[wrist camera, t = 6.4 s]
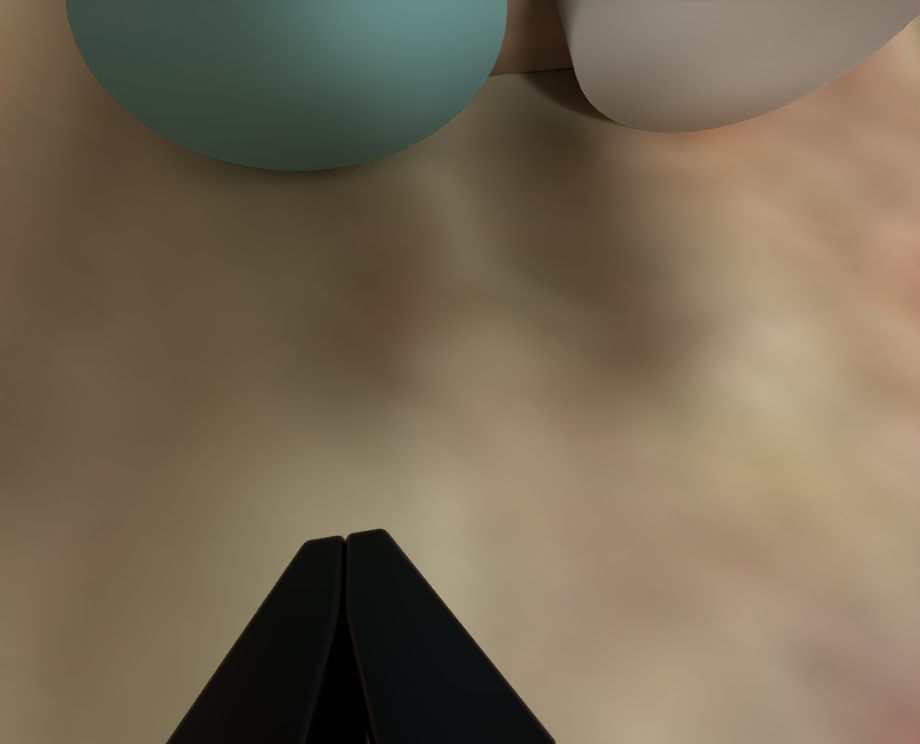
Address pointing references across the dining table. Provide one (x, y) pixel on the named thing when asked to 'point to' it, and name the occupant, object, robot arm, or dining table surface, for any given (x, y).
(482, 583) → the dining table surface
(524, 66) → the walnut mount
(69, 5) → the teal knob
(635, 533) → the dining table surface
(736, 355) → the dining table surface
